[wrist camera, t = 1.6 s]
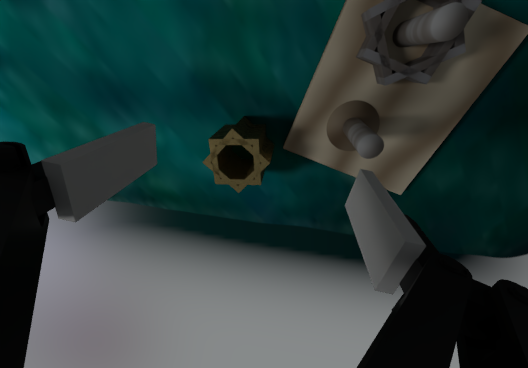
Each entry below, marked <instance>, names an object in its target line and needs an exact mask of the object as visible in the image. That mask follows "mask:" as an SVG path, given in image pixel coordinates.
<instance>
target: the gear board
mask: <svg viewBox="0 0 528 368" xmlns="http://www.w3.org/2000/svg"><path fill="white" fill-rule="evenodd" d="M481 2H482V1H481V0H346V1H345V4H344V6H343V8H342V11H341V13H340V15H339V18H338V20H337V22H336V25H335V27H334V29H333V32H332V34H331V36H330V39H329V41H328V43H327V46H326V48H325V50H324V52H323V55H322V57H321V59H320V62H319V64H318V66H317V69H316V71H315V73H314V76H313V78H312V80H311V83H310V85H309V87H308V90H307V92H306V94H305V97H304V99H303V101H302V104H301V106H300V108H299V110H298V113H297V115H296V117H295V120H294V122H293V124H292V127H291V129H290V131H289V134H288V136H287V138H286V141H285V143H284V146H283V149H286V150H288V151H291V152H293V153H296V154H298V155H301V156H303V157H306V158H309V159H311V160H314V161H316V162H319V163H321V164H324V165H326V166H329V167H331V168H334V169H336V170H339V171H341V172H344V173H346V174H349V175H351V176H354V177H356V178H357V175H358V173H359V171H360V169H364V170H368V171H373V173H374V174H375V176H376V177H377V178H378V180H379V181H380V182H381V184H382V185H383V187H384V188H385V189H387V190H389V191H392V192H394V193H397V194H399V195H401V194H402V192H403V191H404V190H405V189H406V187H407V186H408V185H409V184H410V182H411V181H412V180H413V179H414V177H415V176H416V175H417V173H418V172H419V171H420V170H421V168H422V167H423V166H424V165H425V163H426V162H427V161H428V160H429V158H430V157H431V156H432V155H433V153H434V152H435V151H436V149H437V148H438V147H439V146H440V144H441V143H442V142H443V141H444V139H445V138H446V137H447V136H448V134H449V133H450V132H451V130H452V129H453V128H454V127H455V125H456V124H457V123H458V122H459V120H460V119H461V118H462V117H463V115H464V114H465V113H466V111H467V110H468V109H469V108H470V106H471V105H472V104H473V103H474V101H475V100H476V99H477V98H478V96H479V95H480V94H481V93H482V91H483V90H484V89H485V87H486V86H487V85H488V84H489V82H490V81H491V80H492V79H493V77H494V76H495V75H496V74H497V72H498V71H499V70H500V68H501V67H502V66H503V65H504V63H505V62H506V61H507V60H508V58H509V57H510V56H511V55H512V53H513V52H514V51H515V49H516V48H517V47H518V46H519V44H520V43H521V42H522V41H523V39H524V38H525V37H526V36H527V34H528V25H526V24H523V23H521V22H519V21H517V20H515V19H513V18H511V17H508V16H506V15H504V14H502V13H500V12H498V11H496V10H494V9H491V8H489V7H487V6H485V5H483V4H481Z"/></svg>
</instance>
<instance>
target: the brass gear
mask: <svg viewBox="0 0 528 368" xmlns="http://www.w3.org/2000/svg"><path fill="white" fill-rule="evenodd" d="M209 145H210V152H211V153H210V155H209V156H208V157H207V158H206V159H205V160H204V162H203V163H204V164H205V165H206V166H207V167H208V168H210V169H211V170H212V171H213V172H214V178H215V184H229V185H230V186H231V187H232V188H234V189H235V190H236V191H237V192H238V193H239V192H240V191H241V190H242V189H243V188H244V187H245V186H247V185H261V183H262V179H263V176H264V172H265V169H266V167H267V166H268V165H269V164H270V161H271V157H272V153H273V149H274V145H275V144H274V143H272V142H271V141H270V140H269V139H268V138H267V137H266V124H252V123H251V122H250V121H249V120H248V119H247V118H246V117H245V116H244V117H243V118H242V119H241V120H240V121H239V122H238V123H237V124H236V125H224V126H223V127H222V128H221V129H220V130H218V131H217V132H216V133H215V134H214V135H213V136H212V137H210V138H209ZM232 145H242V146H243V147H244V148H246V149H247V150H248V151H249V152H250V153H251V154H252V155H253V156H254V159H241V158H240V157H239V156H238V155H237V154H236V153H235V152H234V151H232Z"/></svg>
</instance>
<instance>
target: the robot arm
mask: <svg viewBox="0 0 528 368" xmlns="http://www.w3.org/2000/svg"><path fill="white" fill-rule="evenodd" d="M156 164H157V155H156V133H155V125H154V124H150V123H145V122H142V123H140V124H137V125H134V126H132V127H129V128H126V129H124V130H121V131H118V132H116V133H113V134H110V135H108V136H105V137H102V138H100V139H97V140H95V141H92V142H89V143H87V144H84V145H81V146H79V147H76V148H73V149H71V150H68V151H65V152H63V153H60V154H57V155H55V156H52V157H49V158H47V159H44V160H41V161H40V162H37V163H35V164H32V165H31V162H30V159H29V156H28V153H27V150H26V147H25V145H24V144H22V143H17V142H0V368H24V363H25V357H26V350H27V344H28V339H29V334H30V328H31V322H32V316H33V310H34V304H35V298H36V293H37V287H38V282H39V276H40V270H41V264H42V258H43V252H44V247H45V241H46V235H47V229H48V224H49V217H48V214H47V212H48V211H49V210H51V209H53V208H54V207H55V208H56V211H57V214H58V218H59V219H63V220H68V221H72V222H77V221H78V220H79V219H81V218H82V217H84V216H85V215H86V214H88V213H89V212H91V211H92V210H94V209H95V208H96V207H98V206H99V205H101V204H102V203H103V202H105V201H106V200H108V199H109V198H110V197H112V196H113V195H115V194H116V193H117V192H119V191H120V190H122V189H123V188H124V187H126V186H127V185H128V184H130V183H131V182H133V181H134V180H135V179H137V178H138V177H140V176H141V175H142V174H144V173H145V172H147V171H148V170H149V169H151V168H152V167H154V166H155V165H156ZM345 207H346V210H347V213H348V216H349V218H350V221H351V224H352V227H353V230H354V233H355V235H356V238H357V241H358V244H359V247H360V249H361V252H362V255H363V258H364V261H365V264H366V267H367V269H368V272H369V275H370V278H371V281H372V284H373V287H374V289H375V290H376V291H380V292H385V293H389V294H393V293H394V292H395V290H396V289H397V288H398V286H399V285H400V286H401V288H402V290H403V292H404V294H403V295H402V296H401V298H400V299H399V301H398V302H397V303H396V305H395V306H394V308H393V309H392V312H391V314H390V315H389V317H388V319H387V320H386V322H385V323H384V325H383V327H382V328H381V330H380V331H379V333H378V335H377V336H376V338H375V339H374V341H373V342H372V344H371V346H370V347H369V349H368V350H367V352H366V354H365V355H364V357H363V358H362V360H361V362H360V363H359V365H358V366H357V368H449V367H450V363H451V360H452V356H453V352H454V348H455V344H456V341H457V349H458V357H459V364H460V368H528V289H527V288H525V287H523V286H520V285H518V284H517V283H514V282H511V281H509V280H503V279H502V280H499V281H497V282H496V283H495V284H494V285H493V286H492V287H490V286H488V285H485V284H483V283H481V282H478V281H476V280H473V279H472V275H471V273H470V272H469V270H468V269H466V268H465V267H464V266H463V265H462V264H461V263H459V262H458V261H456V260H455V259H453V258H451V257H449V256H446V255H443V254H440V253H439V252H438V251H437V249H436V248H435V247H434V245H433V244H432V243H431V241H430V240H429V239H428V237H426V235H425V234H424V232H423V231H421V228H420V227H419V226H418V224H417V223H416V222H415V221H414V220H412V219H411V218H410V217H409V216H407V215H404V214H403V213H402V212H401V210H400V209H399V207H398V206H397V205H396V203H395V202H394V200H393V199H392V198H391V196H390V195H389V194H388V192H387V191H386V189H385V188H384V187H383V185H382V184H381V182H380V181H379V180H378V178H377V177H376V176H375V174H374V173H373V171H368V170H364V169H360V171H359V173H358V175H357V178H356V180H355V183H354V185H353V187H352V190H351V192H350V194H349V197H348V199H347V202H346V204H345Z"/></svg>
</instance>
